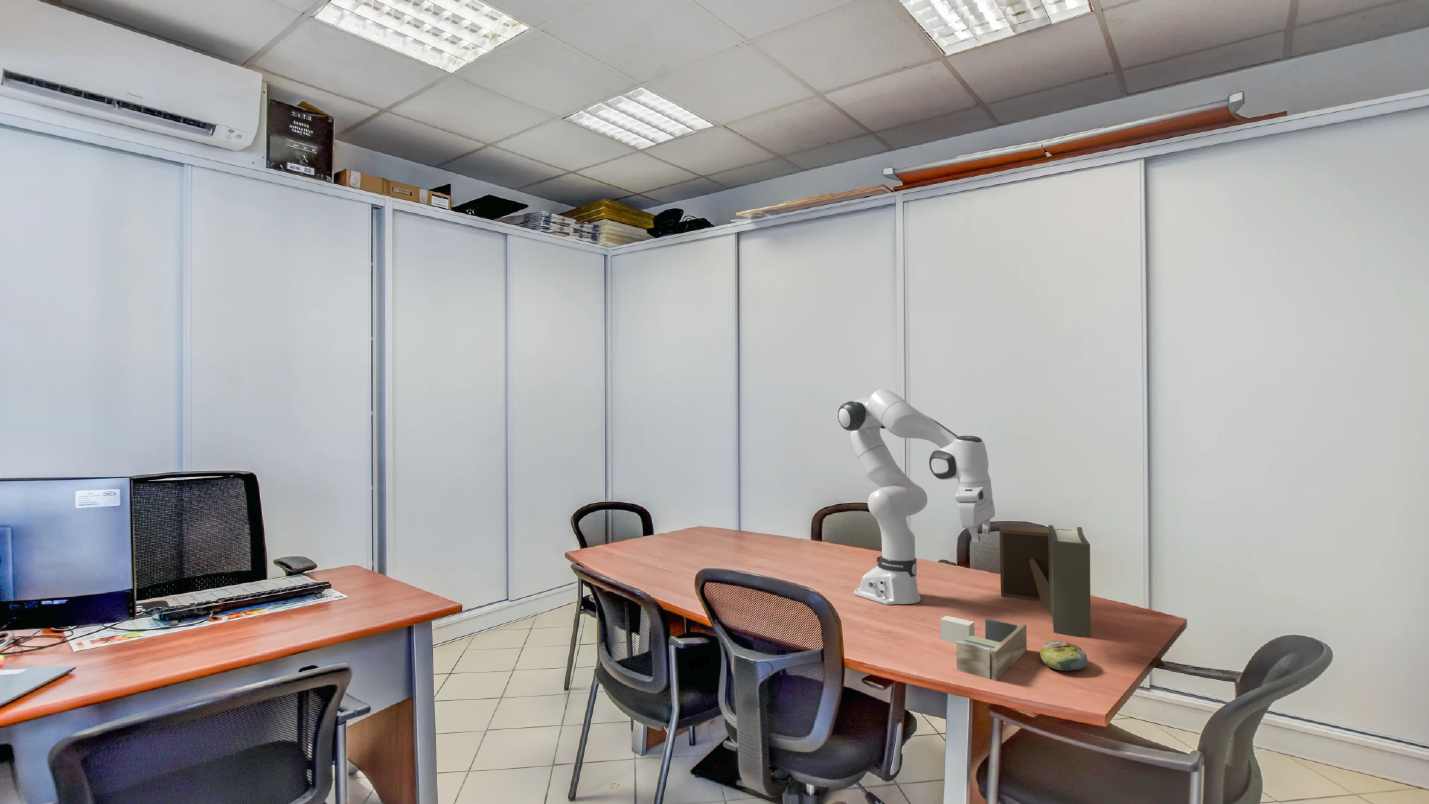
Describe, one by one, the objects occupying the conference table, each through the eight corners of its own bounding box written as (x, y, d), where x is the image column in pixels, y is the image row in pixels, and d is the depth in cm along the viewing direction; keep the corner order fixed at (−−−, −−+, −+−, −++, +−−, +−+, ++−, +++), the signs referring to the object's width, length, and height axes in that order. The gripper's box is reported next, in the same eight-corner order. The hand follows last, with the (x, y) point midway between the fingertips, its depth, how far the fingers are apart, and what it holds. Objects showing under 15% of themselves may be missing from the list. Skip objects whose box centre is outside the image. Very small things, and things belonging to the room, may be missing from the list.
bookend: (985, 644, 172) (985, 619, 172) (993, 637, 177) (993, 613, 177) (1016, 652, 167) (1016, 626, 167) (1024, 644, 172) (1023, 619, 172)
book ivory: (940, 640, 176) (940, 619, 176) (946, 636, 179) (945, 615, 179) (969, 647, 171) (968, 625, 171) (974, 643, 174) (974, 621, 174)
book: (1091, 640, 177) (1090, 542, 176) (1053, 635, 181) (1053, 540, 180) (1082, 615, 196) (1081, 527, 196) (1048, 611, 200) (1048, 525, 200)
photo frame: (1001, 593, 220) (1001, 522, 220) (1072, 602, 209) (1071, 527, 210) (998, 604, 206) (998, 528, 207) (1074, 613, 196) (1073, 534, 197)
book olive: (965, 662, 161) (965, 639, 161) (971, 658, 164) (970, 635, 164) (997, 671, 156) (997, 647, 156) (1002, 666, 159) (1002, 643, 159)
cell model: (1033, 660, 156) (1039, 624, 167) (1042, 685, 157) (1048, 647, 169) (1080, 662, 150) (1083, 624, 161) (1089, 688, 151) (1091, 648, 162)
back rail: (956, 669, 156) (956, 641, 157) (990, 641, 175) (990, 616, 175) (996, 680, 150) (995, 651, 150) (1026, 650, 169) (1026, 624, 169)
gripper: (975, 485, 192) (981, 530, 191) (952, 496, 176) (958, 545, 176) (997, 485, 188) (1003, 531, 187) (975, 496, 172) (981, 546, 172)
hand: (981, 538), depth 181 cm, fingers open, 8 cm apart
